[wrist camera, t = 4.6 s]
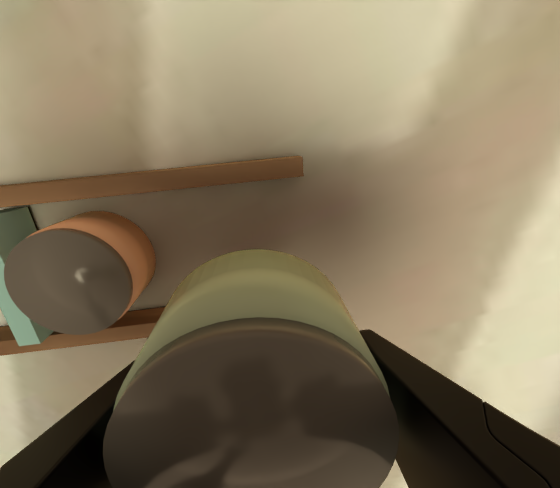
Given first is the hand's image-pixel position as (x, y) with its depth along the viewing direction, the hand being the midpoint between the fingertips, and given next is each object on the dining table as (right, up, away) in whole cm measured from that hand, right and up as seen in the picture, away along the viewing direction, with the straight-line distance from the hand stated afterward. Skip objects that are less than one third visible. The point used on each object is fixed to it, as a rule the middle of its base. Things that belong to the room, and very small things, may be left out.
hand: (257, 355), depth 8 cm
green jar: (0, 0, +1) cm, 1 cm away
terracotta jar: (-10, +3, +10) cm, 14 cm away
